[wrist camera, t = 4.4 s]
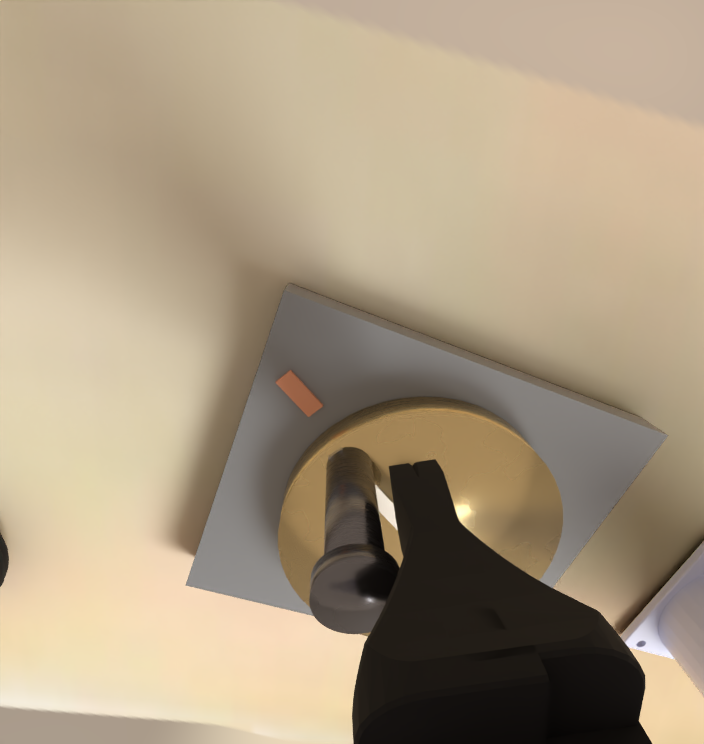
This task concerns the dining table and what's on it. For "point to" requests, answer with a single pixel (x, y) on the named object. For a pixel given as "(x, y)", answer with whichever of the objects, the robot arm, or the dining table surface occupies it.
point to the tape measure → (3, 560)
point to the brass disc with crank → (376, 508)
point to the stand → (384, 383)
